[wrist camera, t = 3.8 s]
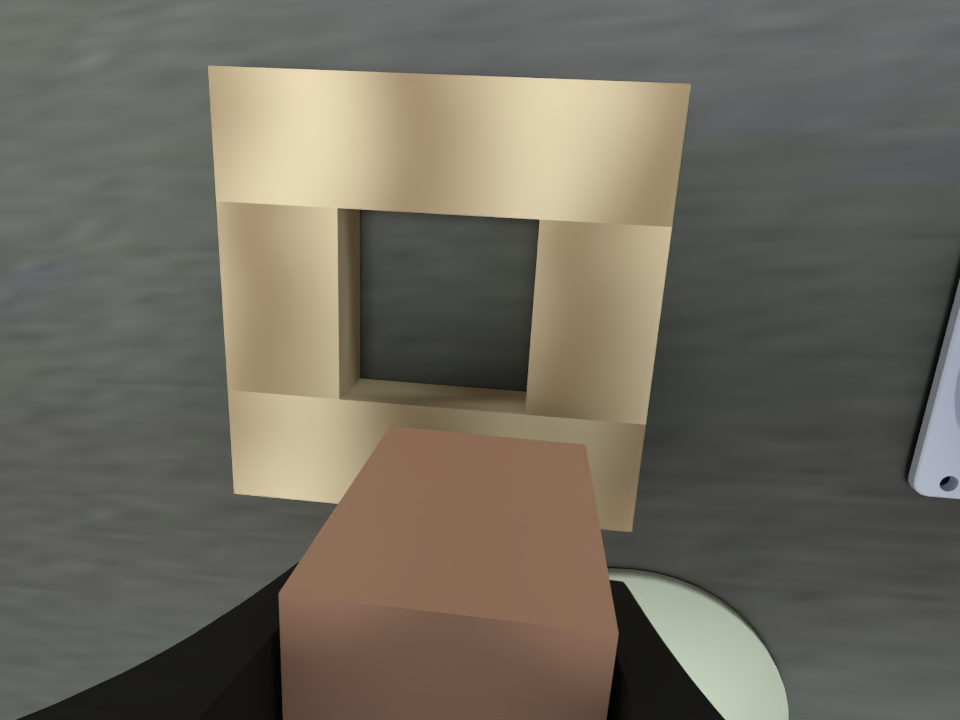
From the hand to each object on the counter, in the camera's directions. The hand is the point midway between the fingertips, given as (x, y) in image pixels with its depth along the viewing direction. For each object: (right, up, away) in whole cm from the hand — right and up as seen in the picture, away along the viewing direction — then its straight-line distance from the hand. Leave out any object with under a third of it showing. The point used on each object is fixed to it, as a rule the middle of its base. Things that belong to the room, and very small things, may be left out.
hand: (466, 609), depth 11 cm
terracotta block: (0, +1, +3) cm, 3 cm away
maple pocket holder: (-1, +6, +8) cm, 10 cm away
